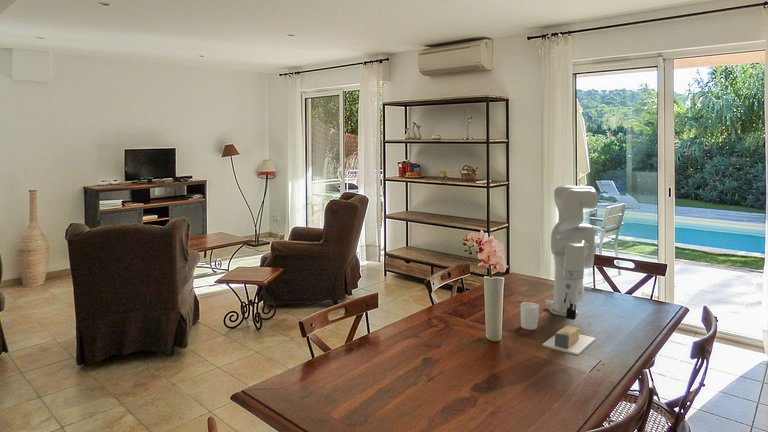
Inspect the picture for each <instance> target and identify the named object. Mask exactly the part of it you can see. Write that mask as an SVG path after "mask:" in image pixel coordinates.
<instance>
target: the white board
mask: <svg viewBox="0 0 768 432" xmlns="http://www.w3.org/2000/svg"><path fill="white" fill-rule="evenodd" d="M596 340H597V339H596V337H593V336H588V335H584V334H580V333H579V340H578V341H577V342H575V343H574V344H573V345H572V346H570V347H569V348H568V349H565V348H562V347H558V346H555V334H554V335H552V336H551V337H550V338H548V339H547V340H546V341H545V342H543V343H542V347H545V348H549V349H553V350H557V351H559V352H564V353H568V354H571V355H575V356H579V355H580V354H581V353H582V352H584V351H585V350H586V349H587V348H588V347H589V346H590V345H592V344H593V343H594V342H595V341H596Z"/></svg>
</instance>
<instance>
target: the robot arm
mask: <svg viewBox="0 0 768 432" xmlns="http://www.w3.org/2000/svg"><path fill="white" fill-rule="evenodd" d="M553 199H554V202H555V205H556V208H557V211H558V222H556V224H555V225H554V226H553V228H552V229H551V230H552V231H551V234H550V251H551V254H552V255H553V260H554V283H553V285H554V287H553V300H550V299H545V305H546V306H550V307H549V312H550V313H551V314H554V315H557V316H561V317H566V319H567V320H571V321H574V320H576V318H577V315H578V313H579V311H578V310H577V305H578V304H579V303H580V302H582V300H583V299H584V279H585V278H584V277H585V275H584V274H585V269H591V268H592V267H593V266H594V264H595V263H594V262H595V248H596V247H595V244H596V243H595V242H596V241H595V240H596V233H595V228H594V226H593V225H592V224H589V223H583V221H584V209H585V210H586V209H587V210H595V209H596V208H597V206H598V203H599V202H598V201H599V196H598V192H597V190H596V189H595V188H594V187H593V186H589V185H588V186H587V185H561V186H557V187H556V188H555V189H554V191H553Z"/></svg>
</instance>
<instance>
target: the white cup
mask: <svg viewBox="0 0 768 432" xmlns="http://www.w3.org/2000/svg"><path fill="white" fill-rule="evenodd" d="M539 315H540V304H538V303H535V302H528V301H526V302H525V301H524V302H521V303H520V327H521V328H522V329H525V330H528V331H529V330H530V331H531V330H536V329H537V328H538V323H539Z"/></svg>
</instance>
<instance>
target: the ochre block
mask: <svg viewBox="0 0 768 432" xmlns="http://www.w3.org/2000/svg"><path fill="white" fill-rule="evenodd" d="M579 334H580V328H579V327H576V326H572V325H569V324H567V325H565V326H564V327H562V328H561V329H559V330H558V331H556V332H555V334H554V335H555V346H558V347H562V348H565V349H568V348H569V347H570V346H572V345H573V344H574V343H575V342H577V341H578V340H579Z"/></svg>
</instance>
